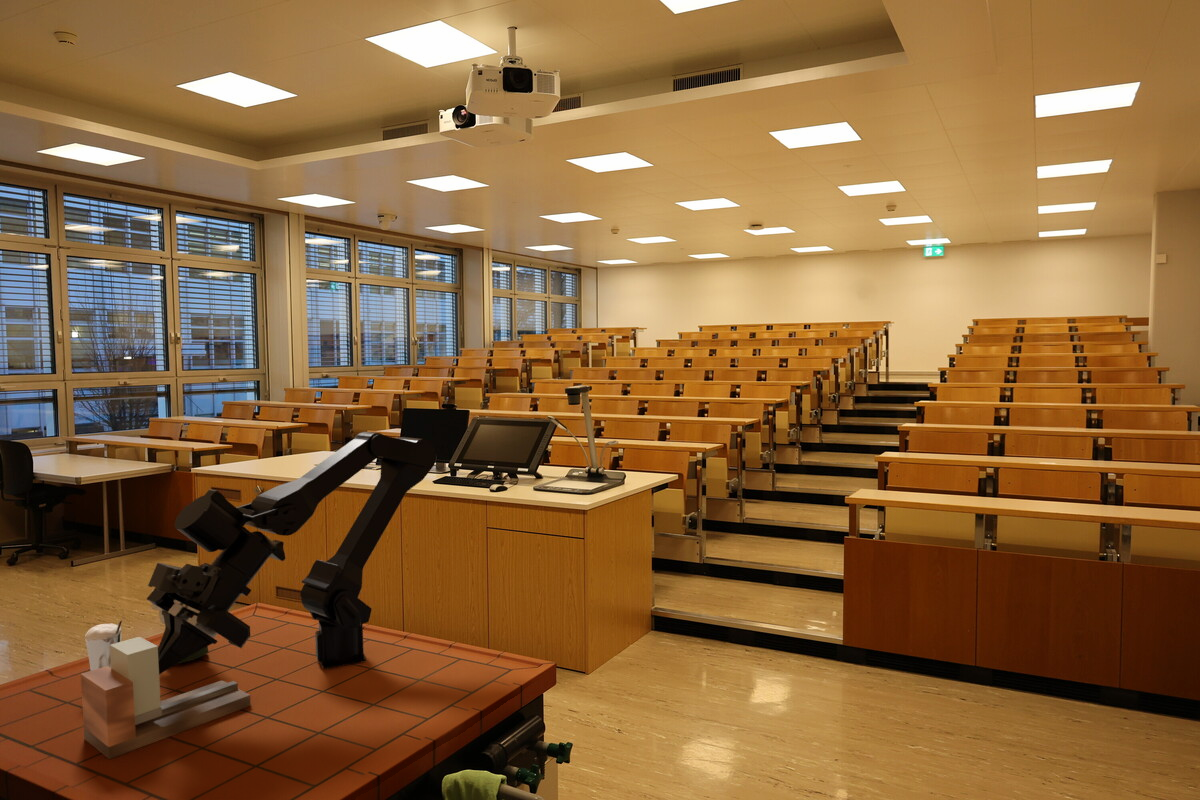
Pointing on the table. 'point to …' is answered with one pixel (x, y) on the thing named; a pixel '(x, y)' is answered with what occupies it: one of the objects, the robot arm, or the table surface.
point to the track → (115, 719)
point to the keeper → (139, 675)
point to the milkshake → (102, 644)
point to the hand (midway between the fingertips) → (152, 673)
